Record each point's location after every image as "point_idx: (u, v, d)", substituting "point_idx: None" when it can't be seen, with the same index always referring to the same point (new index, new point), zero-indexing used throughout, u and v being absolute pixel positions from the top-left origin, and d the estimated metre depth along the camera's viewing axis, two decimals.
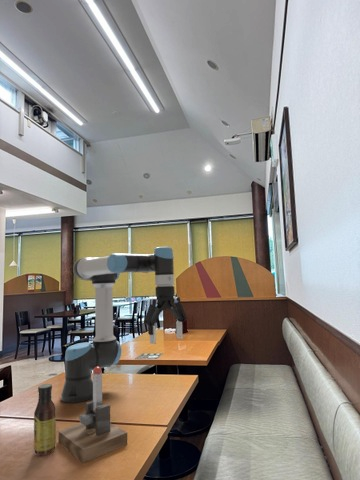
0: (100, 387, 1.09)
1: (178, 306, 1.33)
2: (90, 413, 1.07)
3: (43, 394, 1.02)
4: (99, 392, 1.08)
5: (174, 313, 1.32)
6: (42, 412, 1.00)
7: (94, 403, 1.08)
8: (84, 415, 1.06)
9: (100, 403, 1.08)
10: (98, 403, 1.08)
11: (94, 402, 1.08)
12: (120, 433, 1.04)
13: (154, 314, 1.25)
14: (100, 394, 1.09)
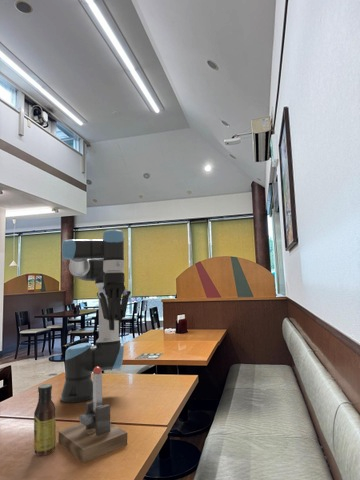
0: (100, 387, 1.09)
1: (124, 300, 1.20)
2: (90, 413, 1.07)
3: (43, 394, 1.02)
4: (99, 392, 1.08)
5: (116, 306, 1.18)
6: (42, 412, 1.00)
7: (94, 403, 1.08)
8: (84, 415, 1.06)
9: (100, 403, 1.08)
10: (98, 403, 1.08)
11: (94, 402, 1.08)
12: (120, 433, 1.04)
13: (109, 307, 1.16)
14: (100, 394, 1.09)
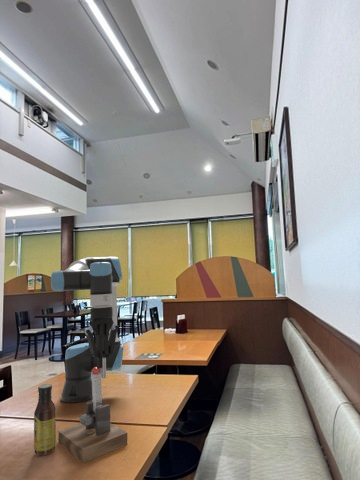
0: (99, 387, 1.09)
1: (112, 335, 1.15)
2: (90, 413, 1.07)
3: (43, 394, 1.02)
4: (98, 392, 1.08)
5: (103, 342, 1.13)
6: (42, 412, 1.00)
7: (94, 403, 1.08)
8: (84, 416, 1.06)
9: (100, 403, 1.08)
10: (98, 403, 1.08)
11: (94, 402, 1.08)
12: (120, 433, 1.04)
13: (97, 344, 1.11)
14: (99, 394, 1.08)
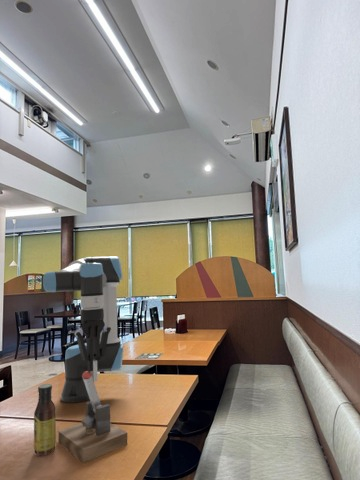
0: (94, 389, 1.07)
1: (103, 337, 1.13)
2: (91, 415, 1.08)
3: (43, 394, 1.02)
4: (94, 394, 1.07)
5: (94, 344, 1.11)
6: (42, 412, 1.00)
7: (92, 405, 1.08)
8: (86, 419, 1.06)
9: (98, 403, 1.08)
10: (96, 404, 1.07)
11: (92, 404, 1.08)
12: (120, 433, 1.04)
13: (88, 347, 1.09)
14: (96, 395, 1.08)
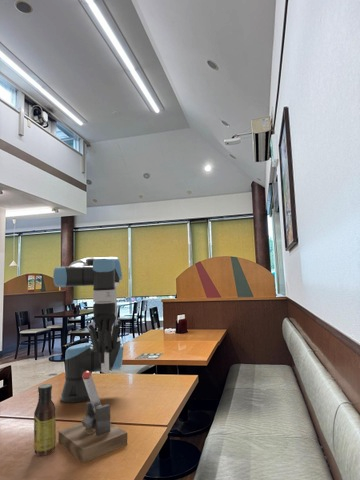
0: (94, 389, 1.07)
1: (114, 330, 1.16)
2: (91, 415, 1.08)
3: (43, 394, 1.02)
4: (94, 394, 1.07)
5: (106, 337, 1.14)
6: (42, 412, 1.00)
7: (92, 405, 1.08)
8: (86, 419, 1.06)
9: (98, 403, 1.08)
10: (96, 404, 1.07)
11: (92, 404, 1.08)
12: (120, 433, 1.04)
13: (99, 339, 1.12)
14: (96, 395, 1.08)
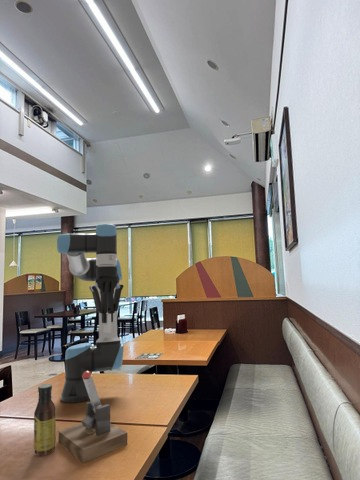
0: (94, 389, 1.07)
1: (116, 293, 1.21)
2: (91, 415, 1.08)
3: (43, 394, 1.02)
4: (94, 394, 1.07)
5: (108, 299, 1.19)
6: (42, 412, 1.00)
7: (92, 405, 1.08)
8: (86, 419, 1.06)
9: (98, 403, 1.08)
10: (96, 404, 1.07)
11: (92, 404, 1.08)
12: (120, 433, 1.04)
13: (102, 301, 1.17)
14: (96, 395, 1.08)
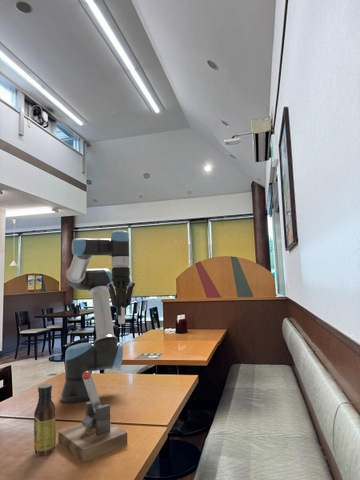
0: (94, 389, 1.07)
1: (129, 290, 1.41)
2: (91, 415, 1.08)
3: (43, 394, 1.02)
4: (94, 394, 1.07)
5: (122, 295, 1.39)
6: (42, 412, 1.00)
7: (92, 405, 1.08)
8: (86, 419, 1.06)
9: (98, 403, 1.08)
10: (96, 404, 1.07)
11: (92, 404, 1.08)
12: (120, 433, 1.04)
13: (117, 296, 1.37)
14: (96, 395, 1.08)
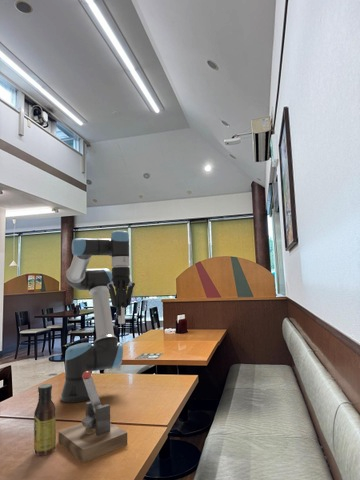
0: (94, 389, 1.07)
1: (129, 290, 1.41)
2: (91, 415, 1.08)
3: (43, 394, 1.02)
4: (94, 394, 1.07)
5: (122, 295, 1.39)
6: (42, 412, 1.00)
7: (92, 405, 1.08)
8: (86, 419, 1.06)
9: (98, 403, 1.08)
10: (96, 404, 1.07)
11: (92, 404, 1.08)
12: (120, 433, 1.04)
13: (117, 296, 1.37)
14: (96, 395, 1.08)
